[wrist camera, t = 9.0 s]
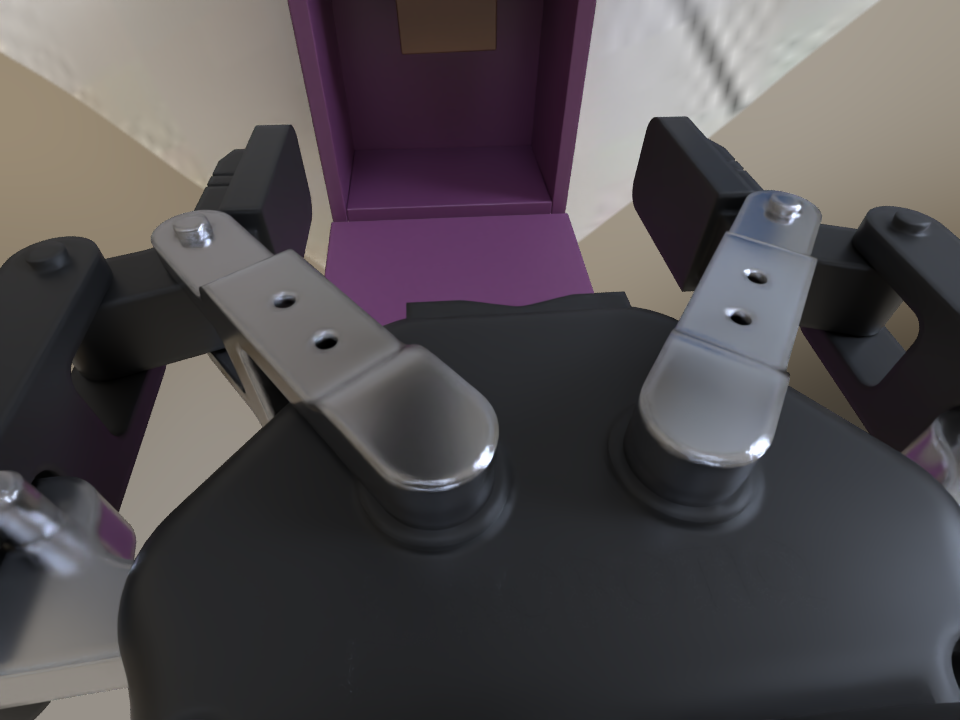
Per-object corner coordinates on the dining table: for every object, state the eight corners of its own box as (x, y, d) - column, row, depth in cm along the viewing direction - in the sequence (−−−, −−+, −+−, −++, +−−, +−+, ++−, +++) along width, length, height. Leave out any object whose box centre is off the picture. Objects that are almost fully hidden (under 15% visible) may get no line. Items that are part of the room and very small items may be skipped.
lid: (295, 498, 18) (300, 508, 19) (653, 470, 19) (648, 480, 20) (330, 221, 28) (333, 233, 28) (568, 212, 29) (565, 224, 29)
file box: (288, -168, 23) (253, -160, 18) (571, -162, 24) (619, -153, 19) (344, 156, 34) (333, 223, 28) (540, 151, 35) (565, 214, 29)
